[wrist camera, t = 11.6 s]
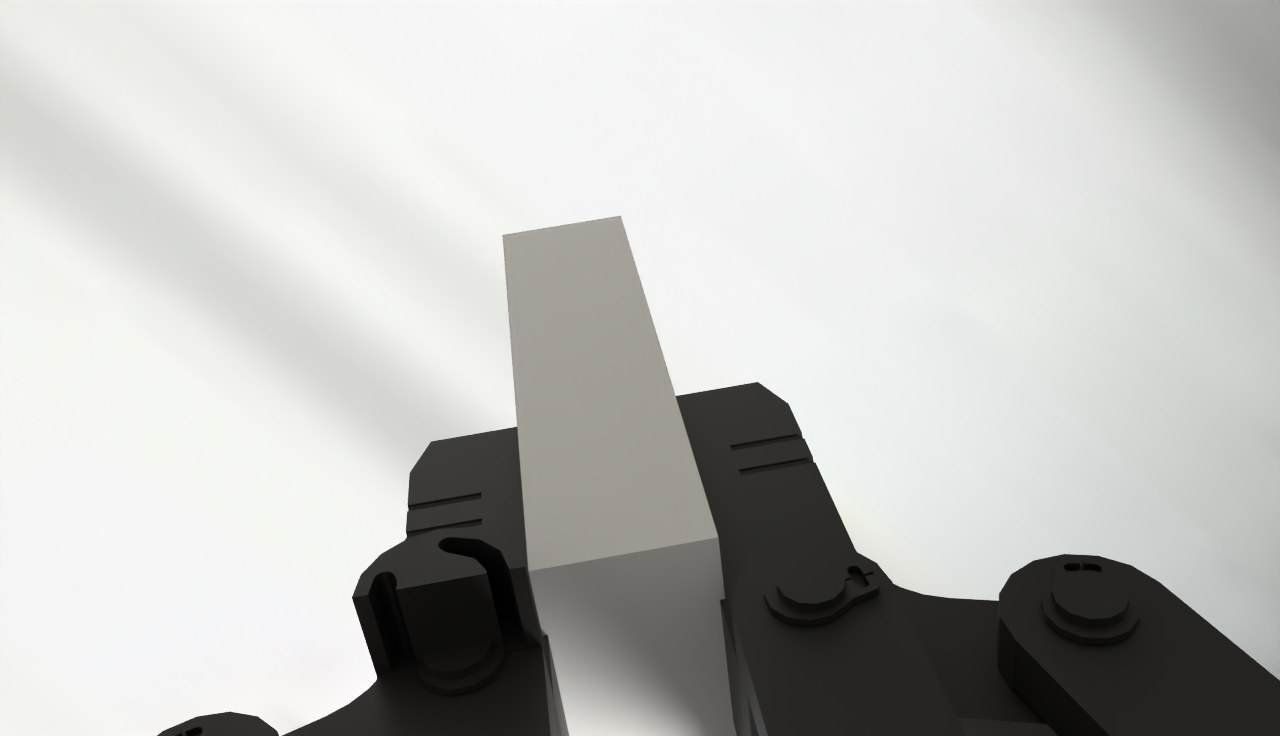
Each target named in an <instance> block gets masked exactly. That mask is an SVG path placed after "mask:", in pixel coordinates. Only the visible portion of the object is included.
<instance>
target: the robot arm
mask: <svg viewBox="0 0 1280 736" xmlns="http://www.w3.org/2000/svg"><path fill="white" fill-rule="evenodd" d="M503 247H504V260H505V273H506V286H507V299H508V312H509V325H510V338H511V351H512V364H513V377H514V390H515V403H516V416H517V427H514V428H508V429H502V430H496V431H490V432H485V433H479V434H473V435H467V436H461V437H456V438H450V439H444V440H438V441H432V442H431V443H430V444H429V446H428V447H427V449H426V450H425V452H424V453H423V454H422V456H421V457H420V459H419V460H418V462H417V463H416V465H415V466H414V468H413V469H412V471H411V472H410V478H409V493H408V509H409V511H408V512H407V524H406V534H407V538H406V539H405V541H403V542H401V543H400V544H398V545H396V546H394V547H393V548H391V549H389V550H387V551H386V552H384V553H382V554H381V555H380V556H379V557H378V558H377V559H376V560H375V561H374V562H373V563H372V564H371V565H370V566H369V567H368V568H367V569H366V570H365V571H364V572H363V573H362V574H361V576H360V579H359V581H358V584H357V586H356V589H355V591H354V594H353V596H352V599H353V602H354V605H355V609H356V612H357V615H358V618H359V621H360V624H361V627H362V630H363V634H364V637H365V640H366V643H367V646H368V649H369V652H370V655H371V659H372V662H373V665H374V668H375V671H376V674H377V680H376V682H375V683H374V684H373V685H372V686H371V687H370V688H369V689H368V690H367V691H365V692H364V693H363V694H361V695H360V696H359V697H357V698H356V699H355V700H354V701H352V702H351V703H350V704H348V705H346V706H344V707H342V708H341V709H339V710H337V711H335V712H333V713H331V714H329V715H328V716H326V717H323V718H321V719H319V720H317V721H314V722H312V723H310V724H308V725H305V726H303V727H301V728H298V729H296V730H294V731H292V732H289V733H287V734H285V735H283V736H1280V681H1279V680H1278V679H1277V678H1276V677H1275V676H1273V675H1272V674H1271V673H1270V672H1268V671H1267V670H1266V669H1265V668H1264V667H1262V666H1261V665H1260V664H1259V663H1257V662H1256V661H1255V660H1254V659H1253V658H1251V657H1250V656H1249V655H1248V654H1246V653H1245V652H1244V651H1243V650H1242V649H1240V648H1239V647H1238V646H1237V645H1235V644H1234V643H1233V642H1232V641H1231V640H1229V639H1228V638H1227V637H1226V636H1224V635H1223V634H1222V633H1221V632H1220V631H1218V630H1217V629H1216V628H1215V627H1213V626H1212V625H1211V624H1210V623H1209V622H1207V621H1206V620H1205V619H1204V618H1202V617H1201V616H1200V615H1199V614H1198V613H1196V612H1195V611H1194V610H1193V609H1191V608H1190V607H1189V606H1188V605H1187V604H1185V603H1184V602H1183V601H1182V600H1180V599H1179V598H1178V597H1177V596H1176V595H1174V594H1173V593H1172V592H1171V591H1169V590H1168V589H1167V588H1166V587H1165V586H1163V585H1162V584H1161V583H1160V582H1158V581H1156V580H1155V579H1153V578H1151V577H1150V576H1148V575H1146V574H1145V573H1143V572H1141V571H1140V570H1138V569H1136V568H1135V567H1133V566H1131V565H1128V564H1124V563H1121V562H1117V561H1114V560H1110V559H1107V558H1104V557H1100V556H1091V555H1070V554H1063V555H1058V556H1053V557H1049V558H1044V559H1039V560H1035V561H1032V562H1031V563H1029V564H1027V565H1026V566H1024V567H1023V568H1021V569H1019V570H1018V571H1016V572H1014V573H1013V574H1011V575H1010V577H1009V579H1008V580H1007V582H1006V584H1005V585H1004V587H1003V589H1002V590H1001V592H1000V594H999V601H991V600H973V599H956V598H945V597H937V596H930V595H923V594H920V593H917V592H914V591H910V590H907V589H904V588H901V587H899V586H897V585H895V584H893V583H892V581H891V580H890V579H889V578H888V576H887V575H886V574H885V573H884V572H883V570H882V569H881V568H880V567H879V565H878V564H877V563H876V562H874V561H872V560H870V559H868V558H866V557H865V556H863V555H861V554H859V553H857V551H856V550H855V548H854V546H853V544H852V541H851V539H850V537H849V535H848V533H847V530H846V528H845V526H844V524H843V522H842V520H841V517H840V515H839V513H838V511H837V509H836V507H835V504H834V502H833V500H832V498H831V496H830V493H829V491H828V489H827V487H826V485H825V483H824V480H823V478H822V476H821V474H820V472H819V469H818V467H817V465H816V463H814V462H813V456H812V454H811V452H810V450H809V448H808V446H807V443H806V441H805V439H803V438H802V432H801V430H800V428H799V426H798V424H797V422H796V419H795V417H794V415H793V413H792V411H791V409H790V406H789V404H788V403H786V402H785V401H784V400H782V399H781V398H779V397H778V396H777V395H775V394H774V393H772V392H771V391H770V390H768V389H767V388H765V387H764V386H763V385H761V384H760V383H758V382H756V383H750V384H744V385H738V386H732V387H727V388H721V389H715V390H709V391H703V392H697V393H692V394H686V395H680V396H675V393H674V390H673V386H672V383H671V380H670V377H669V373H668V370H667V367H666V363H665V360H664V357H663V353H662V350H661V347H660V344H659V340H658V337H657V334H656V330H655V327H654V324H653V321H652V317H651V314H650V311H649V307H648V304H647V301H646V298H645V294H644V291H643V288H642V284H641V281H640V278H639V275H638V271H637V268H636V265H635V261H634V258H633V255H632V252H631V248H630V245H629V242H628V238H627V235H626V232H625V229H624V225H623V222H622V219H621V216H617V217H611V218H604V219H598V220H592V221H586V222H580V223H574V224H568V225H562V226H556V227H549V228H543V229H537V230H531V231H525V232H519V233H513V234H507V235H503ZM157 736H279V735H278V732H277V731H276V730H275V729H274V728H272V727H271V726H270V725H268V724H267V723H266V722H264V721H263V720H262V719H260V718H259V717H257V716H251V715H246V714H240V713H234V712H225V713H218V714H212V715H205V716H199V717H195V718H193V719H190V720H188V721H186V722H183V723H181V724H179V725H176V726H174V727H172V728H169V729H167V730H165V731H163V732H161V733H160V734H159V735H157Z"/></svg>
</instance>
